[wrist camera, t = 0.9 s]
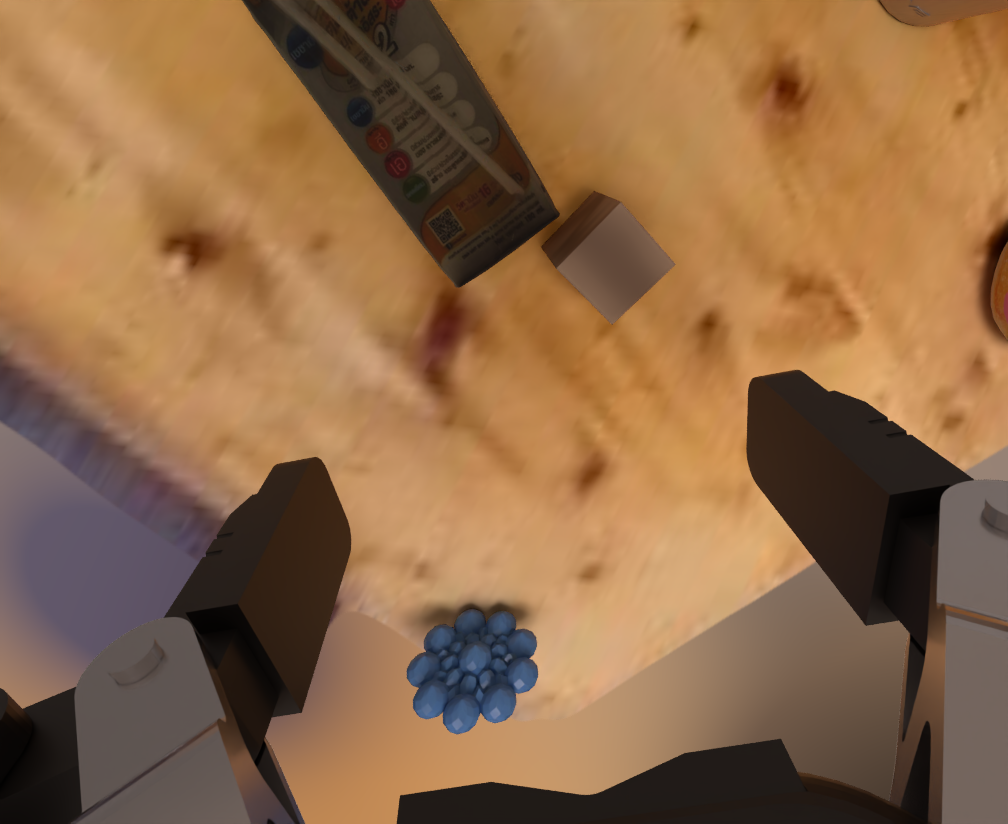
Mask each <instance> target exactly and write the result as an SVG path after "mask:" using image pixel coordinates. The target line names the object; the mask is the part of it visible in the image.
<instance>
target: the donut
mask: <svg viewBox="0 0 1008 824" xmlns="http://www.w3.org/2000/svg"><path fill="white" fill-rule="evenodd" d="M990 305H991V309H992V314H993V318H994V320H995V322H996V324H997V325H998V327H999V329H1000V331H1001V332H1002V333H1003V335H1004V336H1005V338H1006V339H1007V340H1008V241H1007V243H1006V245H1005V247H1004V249H1003V251H1002V253H1001V255H1000V258H999V261H998V264H997V266H996V269H995V273H994V278H993V282H992V287H991V303H990Z"/></svg>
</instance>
